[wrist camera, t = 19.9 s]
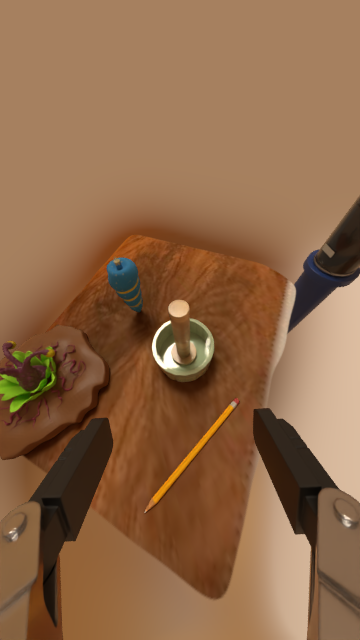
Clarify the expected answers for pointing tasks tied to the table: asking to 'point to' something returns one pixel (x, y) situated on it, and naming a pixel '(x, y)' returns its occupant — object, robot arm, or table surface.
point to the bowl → (166, 341)
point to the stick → (181, 333)
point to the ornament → (125, 282)
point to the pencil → (191, 455)
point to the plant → (47, 387)
